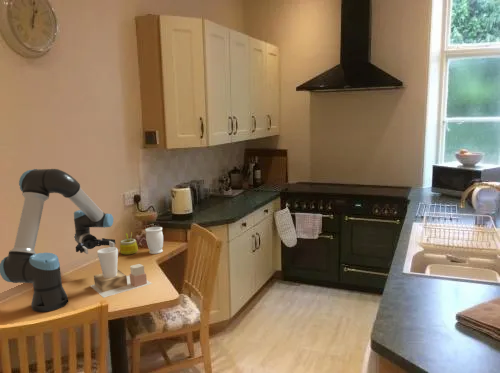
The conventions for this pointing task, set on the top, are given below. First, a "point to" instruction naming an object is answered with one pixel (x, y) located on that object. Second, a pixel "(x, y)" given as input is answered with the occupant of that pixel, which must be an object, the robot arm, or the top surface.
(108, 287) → the oak plinth
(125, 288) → the white board
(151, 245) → the jar
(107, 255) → the foam cup
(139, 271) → the terracotta tower
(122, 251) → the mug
